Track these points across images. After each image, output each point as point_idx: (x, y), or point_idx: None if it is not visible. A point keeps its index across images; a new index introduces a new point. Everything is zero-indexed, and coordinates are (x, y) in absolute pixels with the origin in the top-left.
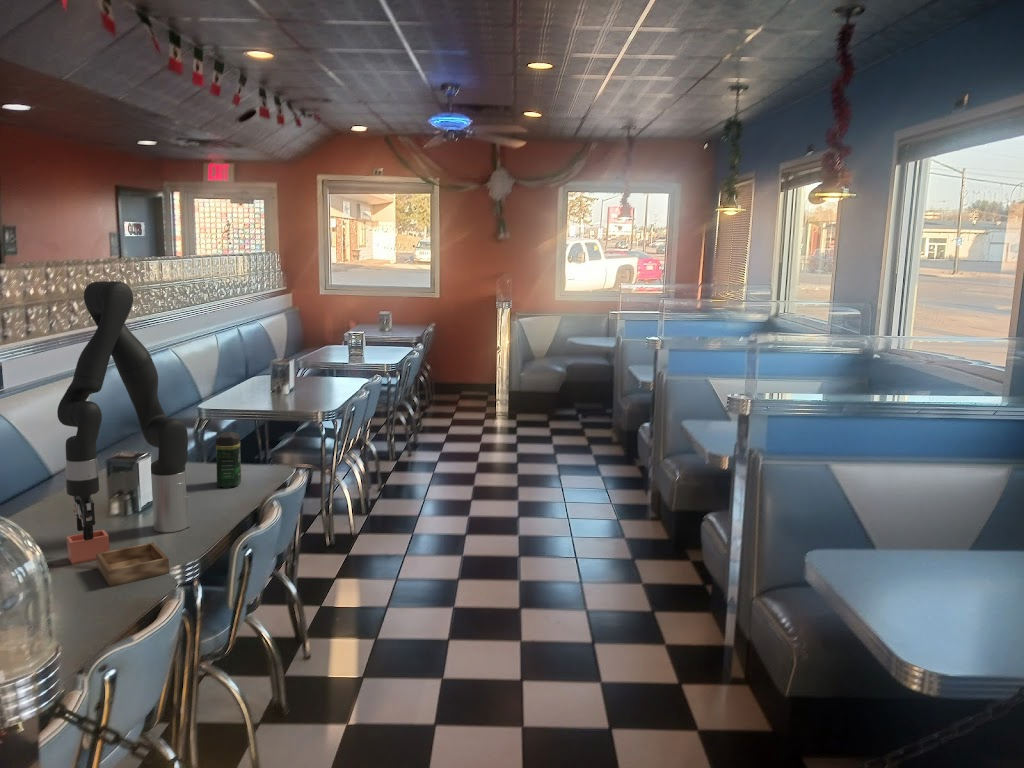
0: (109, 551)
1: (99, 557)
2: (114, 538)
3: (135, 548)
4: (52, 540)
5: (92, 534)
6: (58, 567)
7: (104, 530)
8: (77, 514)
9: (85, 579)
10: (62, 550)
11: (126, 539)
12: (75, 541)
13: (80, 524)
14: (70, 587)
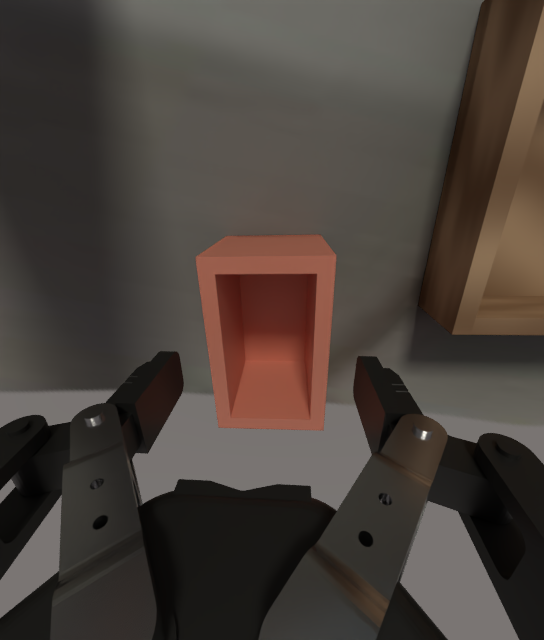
0: (475, 275)
1: (518, 332)
2: (68, 159)
3: (532, 114)
4: (27, 371)
5: (384, 373)
6: None
7: (214, 257)
8: (135, 477)
9: (491, 356)
10: None
11: (104, 101)
12: (319, 412)
13: (167, 400)
14: (518, 402)
